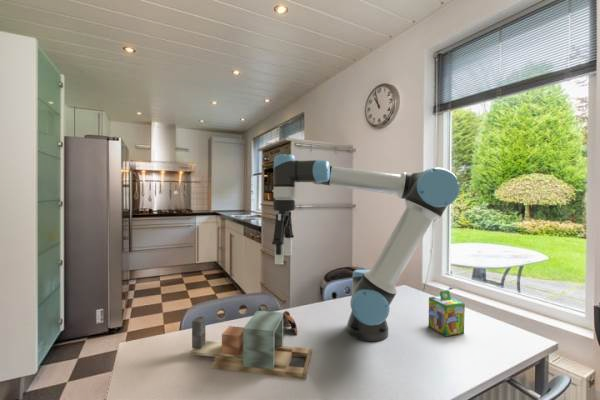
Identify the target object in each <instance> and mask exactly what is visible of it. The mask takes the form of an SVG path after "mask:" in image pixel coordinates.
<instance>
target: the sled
mask: <svg viewBox="0 0 600 400" xmlns="http://www.w3.org/2000/svg"><path fill="white" fill-rule="evenodd" d="M244 327H245V326H243V327H242V326H234V325H233V326H231V325H229V326H228V327H227V328H226V329H225V330H224V331H223V333H221V341H210V340H206V317H199V316H198V317H195V318H194V319H193V320H192V321H191V350H190V351H189V353H190V355H195V356H204V357H214V358H215V357H216V356H226V357H235V358H243V328H244Z"/></svg>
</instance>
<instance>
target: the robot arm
mask: <svg viewBox="0 0 600 400" xmlns="http://www.w3.org/2000/svg"><path fill="white" fill-rule="evenodd" d="M272 169H273V189H272V190H271V192H272V193H273V199H274V200H273V204H272V207H273V210H274V211H278V213H276V214H275V222H274V223H275V224H274V232H273V239H272V243H271V244H272V245H274V265H284V256H292V239H293V238H294V235H295V234H294V233H293V224H292V221H293V220H292V211H295V209H296V208H295V205H296V203H295V202H296V201H295V198H296V183H312V184H314V185H324V186H331V187H338V188H345V189H346V188H347V189H352V190H360V191H367V192H372V193H373V192H374V193H380V194H387V195H395V196H397V197H398V198H399V199H403V200H404V204H405V206H406V207H405V209H404V210H403V212H402V214H401V215H400V217H399V220H398V222H397V223H396V225H395V227H394V229H393V230H392V232H391V234H390V236H389V238H388V240H387V241H386V243H385V245H384V247H383V248H382V250H381V251H380V254H379V256H378V257H377V259H376V261H375V263H374V264H373V266H372V268H371V269H355V270H353V272H352V276H351V280H352V281H351V282H352V286H351V289H352V290H351V297H350V309H351V311H350V315H349V318H348V321H347V322H346V323H347V327H346V328H347V329H346V330H347V333H348V334H349V335H350V336H352V337H353V338H356V339H358V340H362V341H366V342H380V341H382V340H383V341H384V340H386V339H387V338H388V336H389V326H388V322H387V318H388V317H389V315H390V305H391V303H392V302H393V301H394V299H395V297H396V295H397V292H398V291H397V288H396V285H397V283H398V280H400V277H401V276H402V274H403V272H404V270H405V269H406V268H407V265H408V264H409V262H410V260H411V258H412V256H413V255H414V253H415V251H416V249H417V248H418V246H419V244H420V242H422V239H423V237H424V236H425V234H426V233H427V231H428V228H429V227H430V226H431V223H432V222H433V221H434V220H437V219H440V218H441V217H442V215H443V214H444V212H445V210H446V208H447V207H448V206H450V205H451V204H453V202H455V200H456V199H457V198H458V197H459V193H460V190H461V189H460V188H461V187H460V183H459V179H458V178H457V176H456V174H454V173H453V172H452V171H450V170H449V169H446V168H443V167H431V168H427V169H426V170H424V171H421V172H408V171H407V172H405V171H403V172H402V173H400V174H398V173H390V172H382V171H374V170H368V169H367V170H366V169H359V168H350V167H342V166H334V165H330V162H329V161H328V160H326V159H325V160H322V159H315V160H314V159H313V160H312V159H311V160H298V159H297V160H296V157H295V155H293V154H284V153H283V154H276V155H275V156H274V158H273V167H272Z"/></svg>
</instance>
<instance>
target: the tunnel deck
mask: <svg viewBox="0 0 600 400" xmlns="http://www.w3.org/2000/svg"><path fill="white" fill-rule="evenodd" d="M283 313H284V312H281V311H280V312H278V311H265V310H256V311H255V313H254V314H253V316H252V317H251V318H250V319H249V320H248V321H247V323H246V324H245V325H244V326H243V327H244V328H243V358H235V357H226V356H216V357H214V361H213V362H212V369H217V370H224V371H233V372H239V373H240V372H241V373H249V374H250V373H251V374H256V375H259V374H260V375H265V376H275V377H284V378H292V379H293V378H294V379H301V380H306V379H307V375H308V372H309V368H310V362H311V359H312V354H313V353H312V352H313V351H312V350H313V349H312V348H307V347H296V346H286V345H285V346H284V333H283V331H284V330H283V329H284V327H283Z"/></svg>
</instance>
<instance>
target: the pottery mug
mask: <svg viewBox="0 0 600 400" xmlns="http://www.w3.org/2000/svg"><path fill="white" fill-rule="evenodd" d="M282 313H283V334H284V333H285V332H284V327H285V328H291V330H294V334H295V336H298V333H299V332H298V327H297V323H296V321H295V320H294V318H293V317H292V316H291V314H290V312H289V311H288V310H285V311H283V312H282Z"/></svg>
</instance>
